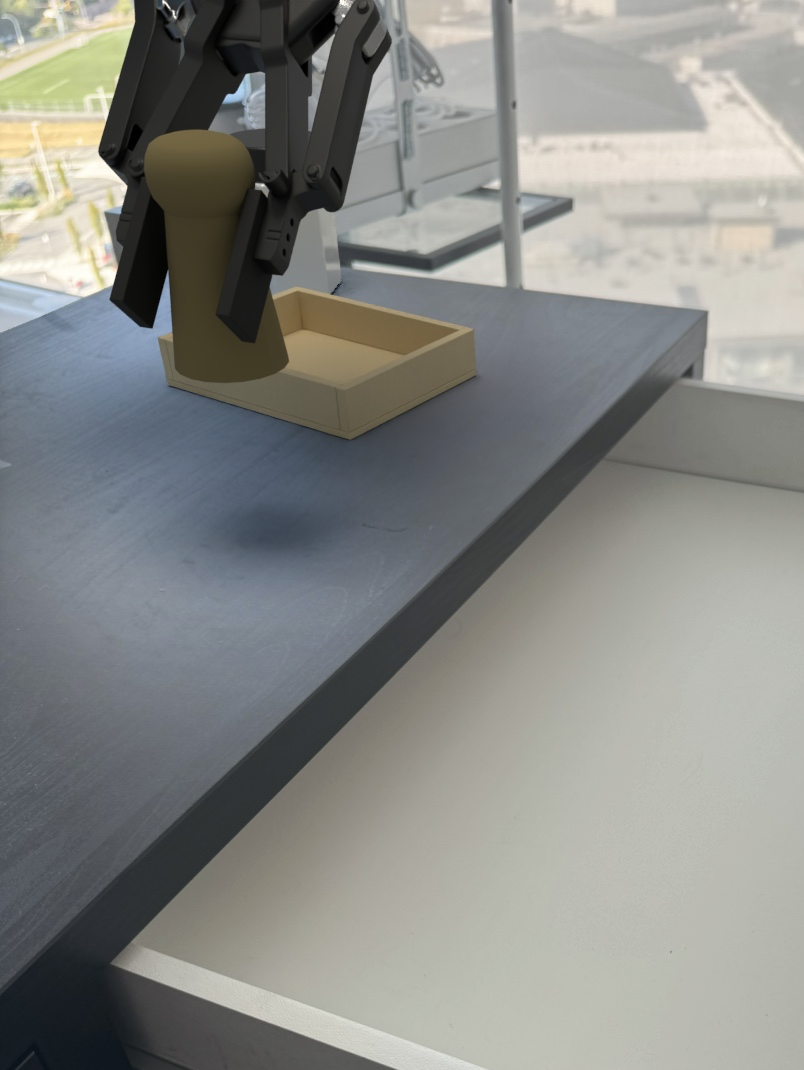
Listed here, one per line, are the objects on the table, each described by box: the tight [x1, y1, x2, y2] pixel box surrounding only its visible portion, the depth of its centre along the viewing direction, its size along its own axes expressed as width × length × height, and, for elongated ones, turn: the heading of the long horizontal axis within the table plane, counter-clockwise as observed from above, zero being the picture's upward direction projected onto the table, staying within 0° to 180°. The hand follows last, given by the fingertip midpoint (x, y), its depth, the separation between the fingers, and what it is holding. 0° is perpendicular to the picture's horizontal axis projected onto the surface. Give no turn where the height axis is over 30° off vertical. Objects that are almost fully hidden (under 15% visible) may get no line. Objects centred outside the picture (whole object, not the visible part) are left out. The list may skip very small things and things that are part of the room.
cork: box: [144, 129, 289, 383], centre depth 59 cm, size 6×6×11 cm
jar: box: [228, 127, 342, 295], centre depth 100 cm, size 9×8×12 cm
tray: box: [157, 286, 477, 441], centre depth 86 cm, size 18×15×4 cm
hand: (183, 321), depth 58 cm, fingers closed on cork, 5 cm apart
